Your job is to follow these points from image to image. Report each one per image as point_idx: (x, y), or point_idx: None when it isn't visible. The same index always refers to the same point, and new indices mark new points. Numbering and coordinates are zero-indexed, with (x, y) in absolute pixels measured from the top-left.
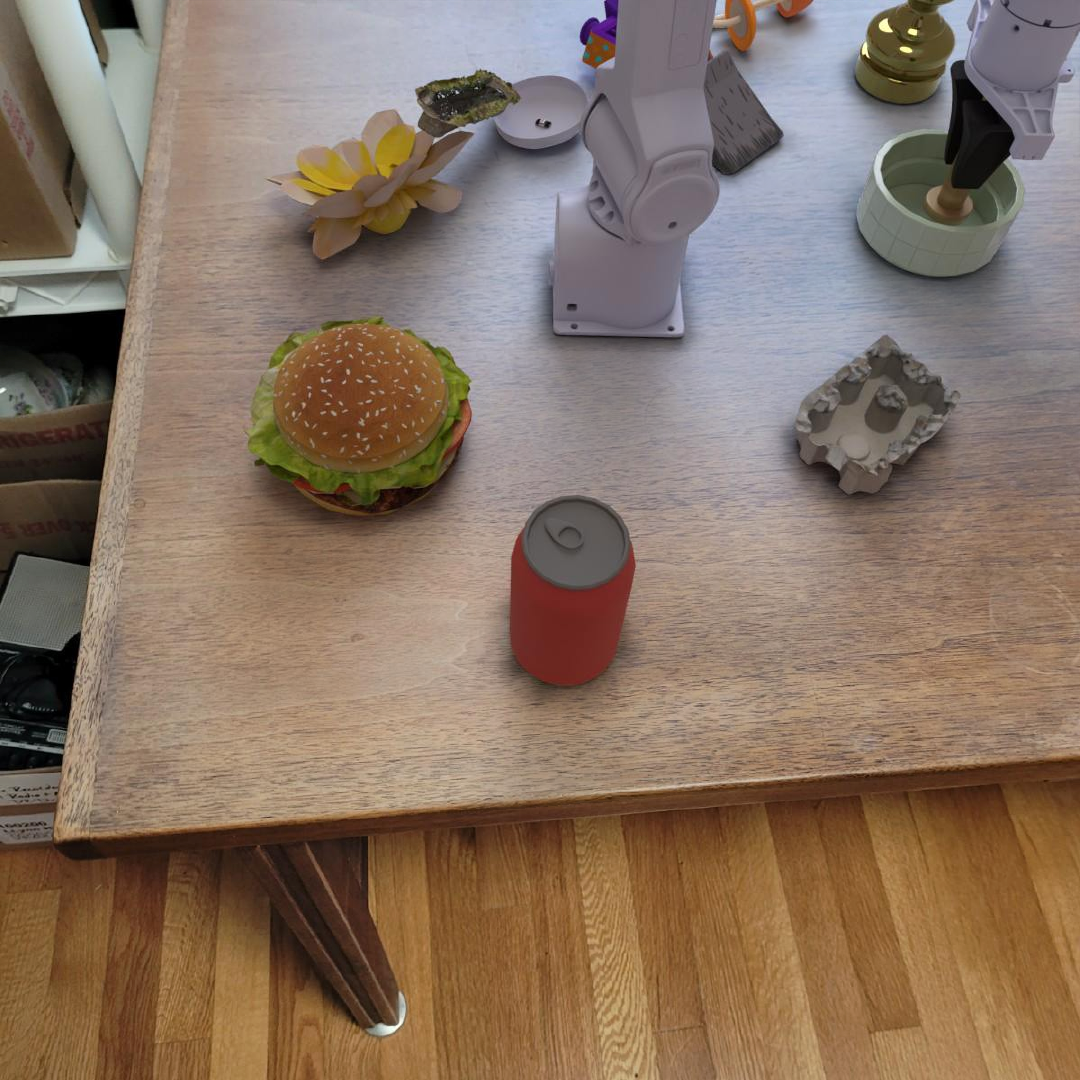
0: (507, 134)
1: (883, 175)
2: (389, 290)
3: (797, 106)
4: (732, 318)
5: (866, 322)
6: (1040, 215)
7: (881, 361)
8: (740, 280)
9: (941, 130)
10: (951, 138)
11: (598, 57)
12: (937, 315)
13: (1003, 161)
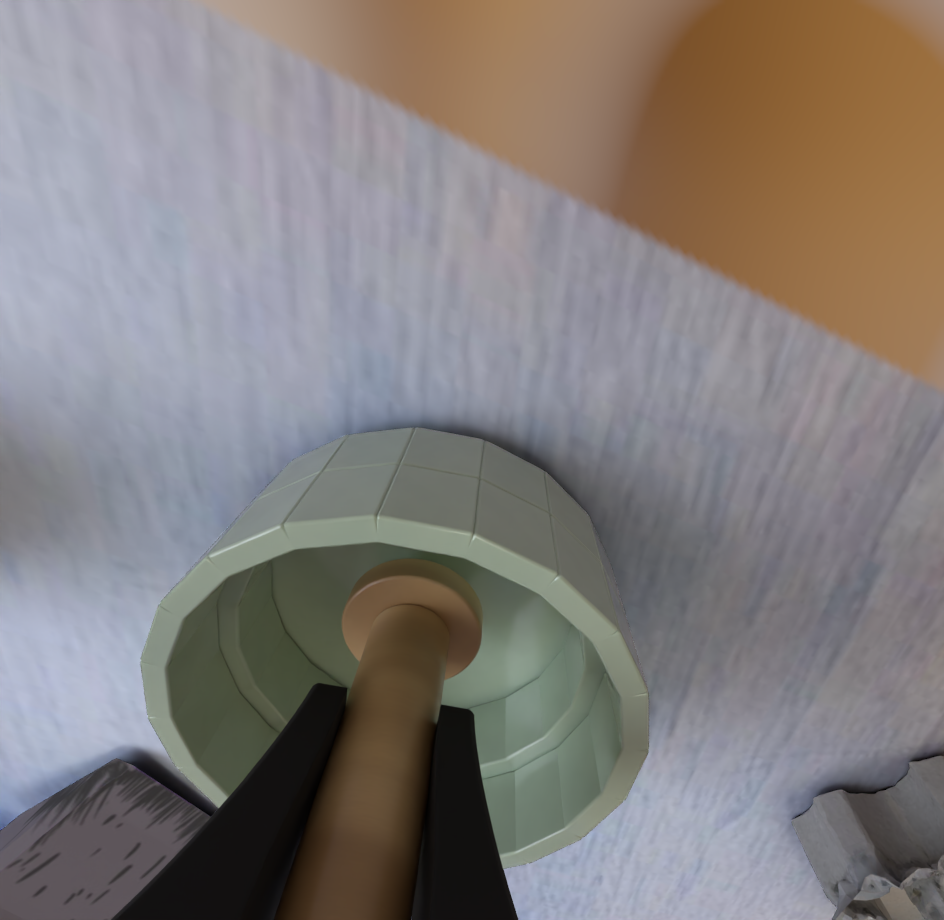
0: None
1: None
2: None
3: (13, 693)
4: (591, 912)
5: (667, 770)
6: (395, 241)
7: (839, 865)
8: (512, 886)
9: (146, 674)
10: None
11: None
12: (697, 656)
13: (501, 866)
